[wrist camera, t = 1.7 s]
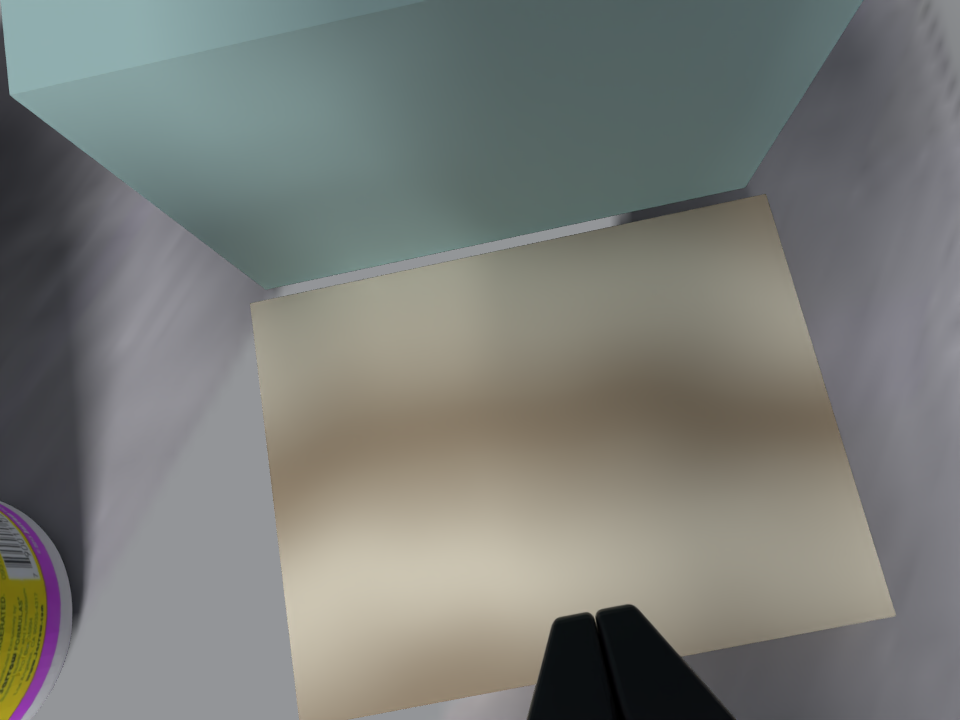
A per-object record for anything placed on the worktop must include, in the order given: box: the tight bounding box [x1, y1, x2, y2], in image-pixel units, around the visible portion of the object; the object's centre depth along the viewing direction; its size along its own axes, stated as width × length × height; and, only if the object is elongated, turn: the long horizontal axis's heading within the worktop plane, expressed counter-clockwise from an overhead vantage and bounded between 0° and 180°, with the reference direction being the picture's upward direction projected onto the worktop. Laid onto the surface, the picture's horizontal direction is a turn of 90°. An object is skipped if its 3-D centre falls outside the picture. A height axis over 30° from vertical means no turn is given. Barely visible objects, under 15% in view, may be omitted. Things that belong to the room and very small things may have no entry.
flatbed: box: [250, 194, 896, 720], centre depth 20 cm, size 10×13×2 cm
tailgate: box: [0, 0, 863, 290], centre depth 16 cm, size 2×12×10 cm, turn 101°
